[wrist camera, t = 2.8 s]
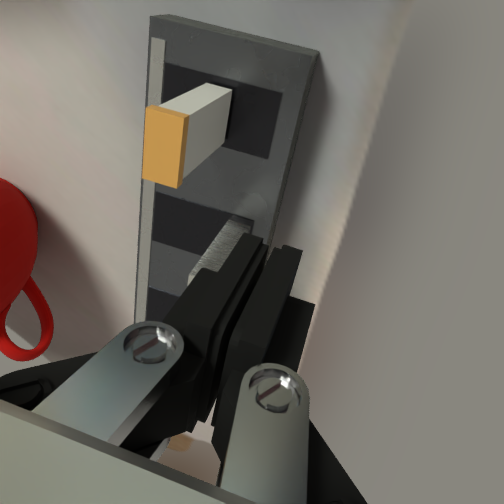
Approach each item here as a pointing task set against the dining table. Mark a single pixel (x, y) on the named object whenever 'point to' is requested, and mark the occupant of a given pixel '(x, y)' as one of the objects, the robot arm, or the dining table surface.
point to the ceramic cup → (19, 268)
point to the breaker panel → (217, 153)
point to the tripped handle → (184, 133)
